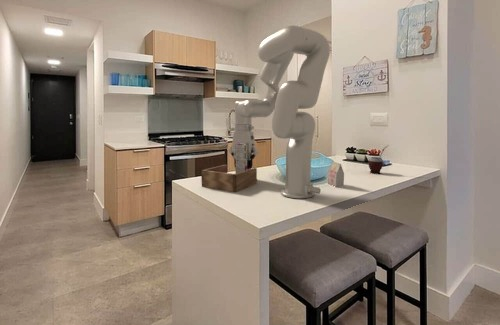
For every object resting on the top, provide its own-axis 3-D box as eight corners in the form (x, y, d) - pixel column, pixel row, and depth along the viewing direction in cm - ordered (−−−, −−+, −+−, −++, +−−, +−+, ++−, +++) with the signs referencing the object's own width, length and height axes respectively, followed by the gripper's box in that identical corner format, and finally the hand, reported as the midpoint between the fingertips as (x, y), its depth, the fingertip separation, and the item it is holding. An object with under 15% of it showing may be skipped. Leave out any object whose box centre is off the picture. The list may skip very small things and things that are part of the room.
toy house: (335, 183, 138) (336, 161, 136) (343, 186, 131) (344, 163, 130) (327, 183, 137) (328, 161, 135) (335, 187, 130) (336, 164, 129)
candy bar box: (240, 175, 148) (241, 141, 145) (250, 175, 147) (251, 141, 144) (234, 180, 137) (234, 143, 135) (245, 180, 136) (246, 144, 134)
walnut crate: (256, 183, 136) (256, 168, 135) (235, 192, 122) (235, 174, 121) (225, 179, 145) (224, 164, 144) (201, 186, 131) (201, 170, 130)
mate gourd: (364, 172, 162) (366, 144, 160) (375, 171, 166) (377, 143, 163) (376, 175, 156) (378, 145, 153) (387, 173, 159) (389, 144, 157)
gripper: (263, 128, 137) (263, 168, 140) (232, 127, 146) (232, 164, 149) (255, 129, 131) (255, 170, 134) (222, 128, 140) (223, 167, 143)
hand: (243, 167), depth 142 cm, fingers closed on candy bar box, 6 cm apart
